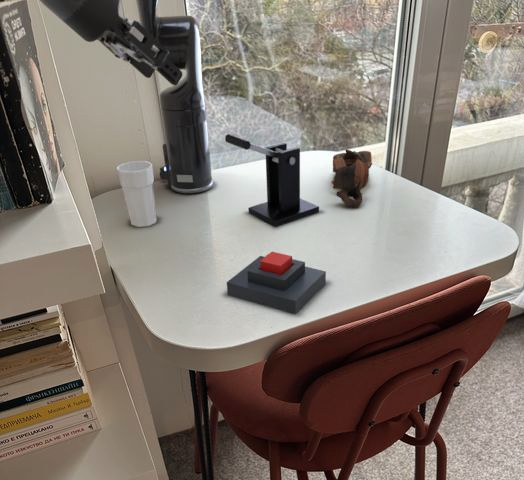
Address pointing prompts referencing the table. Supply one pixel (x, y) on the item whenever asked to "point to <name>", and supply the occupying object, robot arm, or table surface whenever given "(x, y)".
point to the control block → (277, 285)
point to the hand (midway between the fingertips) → (164, 76)
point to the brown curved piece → (352, 161)
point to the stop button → (276, 263)
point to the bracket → (283, 189)
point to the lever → (252, 146)
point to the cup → (138, 191)
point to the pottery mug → (350, 178)
